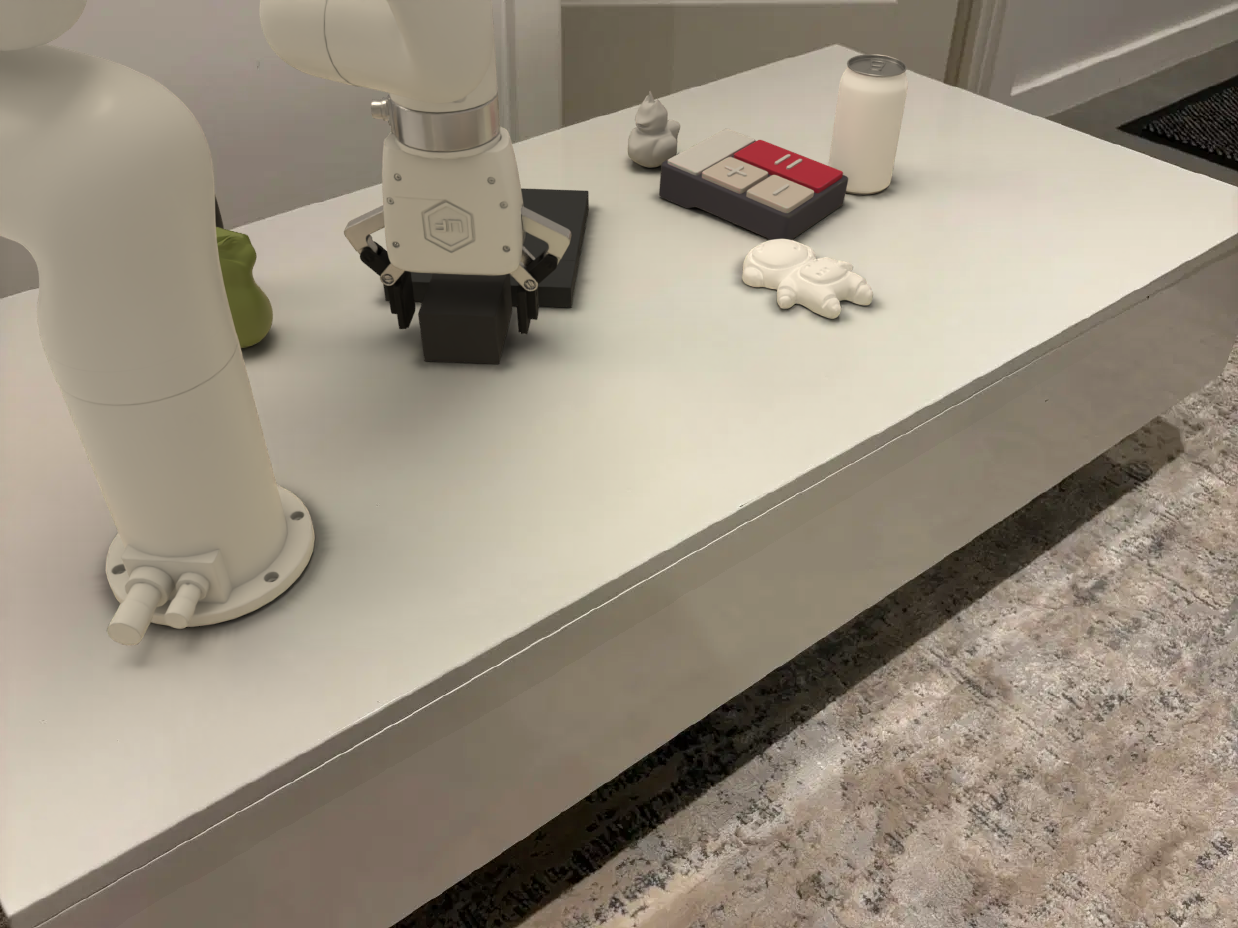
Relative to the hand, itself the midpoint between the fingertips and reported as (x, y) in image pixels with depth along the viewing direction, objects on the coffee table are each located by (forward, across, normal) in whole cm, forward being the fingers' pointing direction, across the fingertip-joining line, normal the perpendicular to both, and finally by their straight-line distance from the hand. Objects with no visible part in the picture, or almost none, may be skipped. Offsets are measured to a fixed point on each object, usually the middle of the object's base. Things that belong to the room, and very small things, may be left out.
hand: (466, 322), depth 88 cm
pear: (+2, -18, -2) cm, 18 cm away
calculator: (+1, +24, +26) cm, 35 cm away
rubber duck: (+1, +14, +34) cm, 37 cm away
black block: (+1, 0, +2) cm, 3 cm away
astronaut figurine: (+2, +28, +10) cm, 30 cm away
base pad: (+1, 0, +14) cm, 14 cm away
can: (+1, +35, +31) cm, 47 cm away
